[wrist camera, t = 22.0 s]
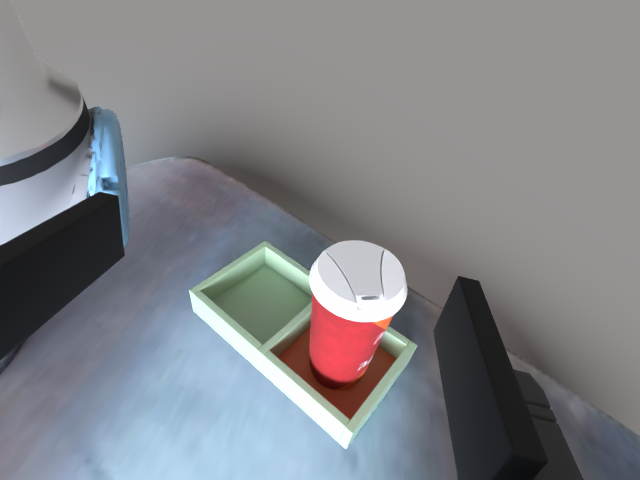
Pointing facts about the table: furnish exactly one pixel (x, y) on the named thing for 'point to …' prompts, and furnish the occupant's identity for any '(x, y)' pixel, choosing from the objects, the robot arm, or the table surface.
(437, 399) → the table surface
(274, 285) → the holder
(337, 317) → the paper cup
